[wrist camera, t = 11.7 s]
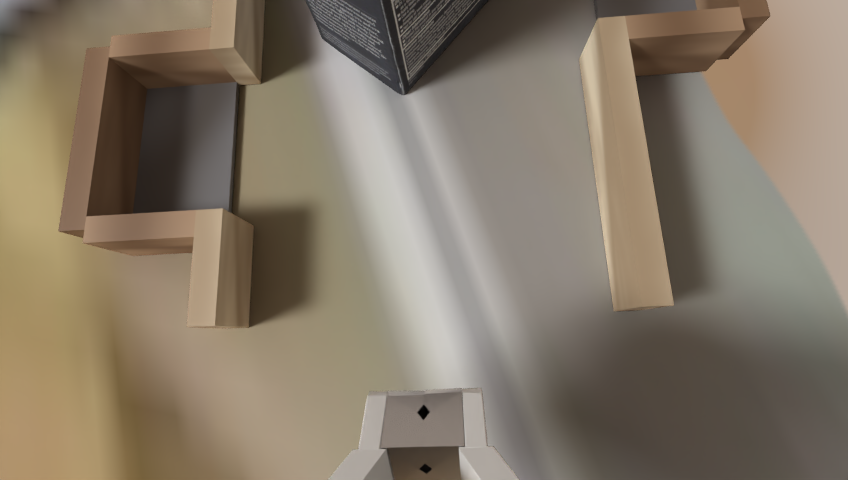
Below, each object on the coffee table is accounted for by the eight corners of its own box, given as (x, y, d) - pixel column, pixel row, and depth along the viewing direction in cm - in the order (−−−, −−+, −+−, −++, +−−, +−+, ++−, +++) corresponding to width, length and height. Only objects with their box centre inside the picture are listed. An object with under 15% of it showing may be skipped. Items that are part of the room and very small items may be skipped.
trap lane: (683, -137, 25) (714, -200, 22) (783, 304, 19) (843, 297, 16) (152, -85, 26) (115, -137, 24) (100, 334, 21) (42, 333, 18)
